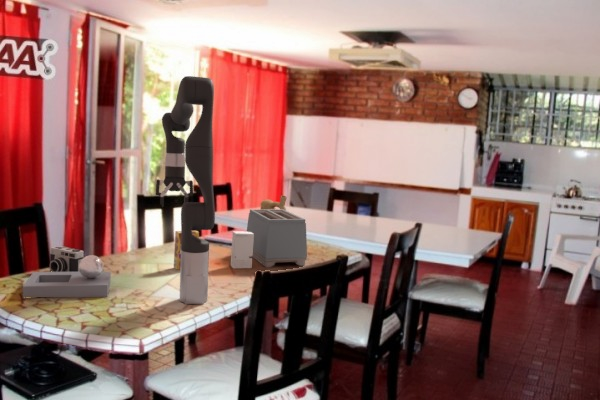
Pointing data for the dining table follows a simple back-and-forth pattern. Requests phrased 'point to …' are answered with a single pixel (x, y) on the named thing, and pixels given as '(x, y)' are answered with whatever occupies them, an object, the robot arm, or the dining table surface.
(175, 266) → the candy box
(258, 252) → the toaster
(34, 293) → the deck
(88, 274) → the ball
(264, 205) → the tan irregular piece
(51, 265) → the camera
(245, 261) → the skincare box
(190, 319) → the dining table surface
